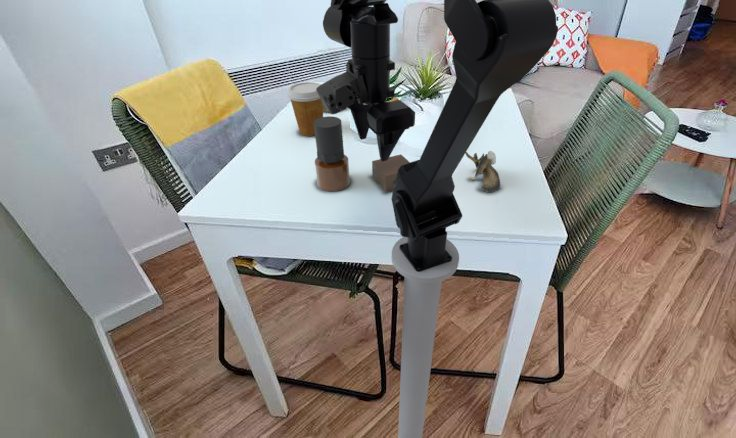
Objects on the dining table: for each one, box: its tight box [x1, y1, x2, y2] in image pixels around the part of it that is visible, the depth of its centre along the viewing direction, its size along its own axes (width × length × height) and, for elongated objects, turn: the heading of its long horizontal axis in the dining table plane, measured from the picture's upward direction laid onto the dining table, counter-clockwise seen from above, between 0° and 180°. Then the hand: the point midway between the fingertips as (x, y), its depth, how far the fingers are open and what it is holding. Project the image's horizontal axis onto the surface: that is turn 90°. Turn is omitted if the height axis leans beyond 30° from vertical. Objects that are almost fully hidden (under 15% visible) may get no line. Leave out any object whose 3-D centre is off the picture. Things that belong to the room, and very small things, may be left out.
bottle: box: [314, 154, 351, 192], centre depth 79 cm, size 7×7×8 cm
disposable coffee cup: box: [287, 81, 324, 137], centre depth 100 cm, size 10×10×12 cm
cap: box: [314, 115, 345, 163], centre depth 76 cm, size 5×5×8 cm
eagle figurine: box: [464, 150, 501, 194], centre depth 79 cm, size 8×7×9 cm
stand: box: [371, 154, 410, 193], centre depth 80 cm, size 7×7×4 cm
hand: (372, 149), depth 66 cm, fingers open, 9 cm apart
